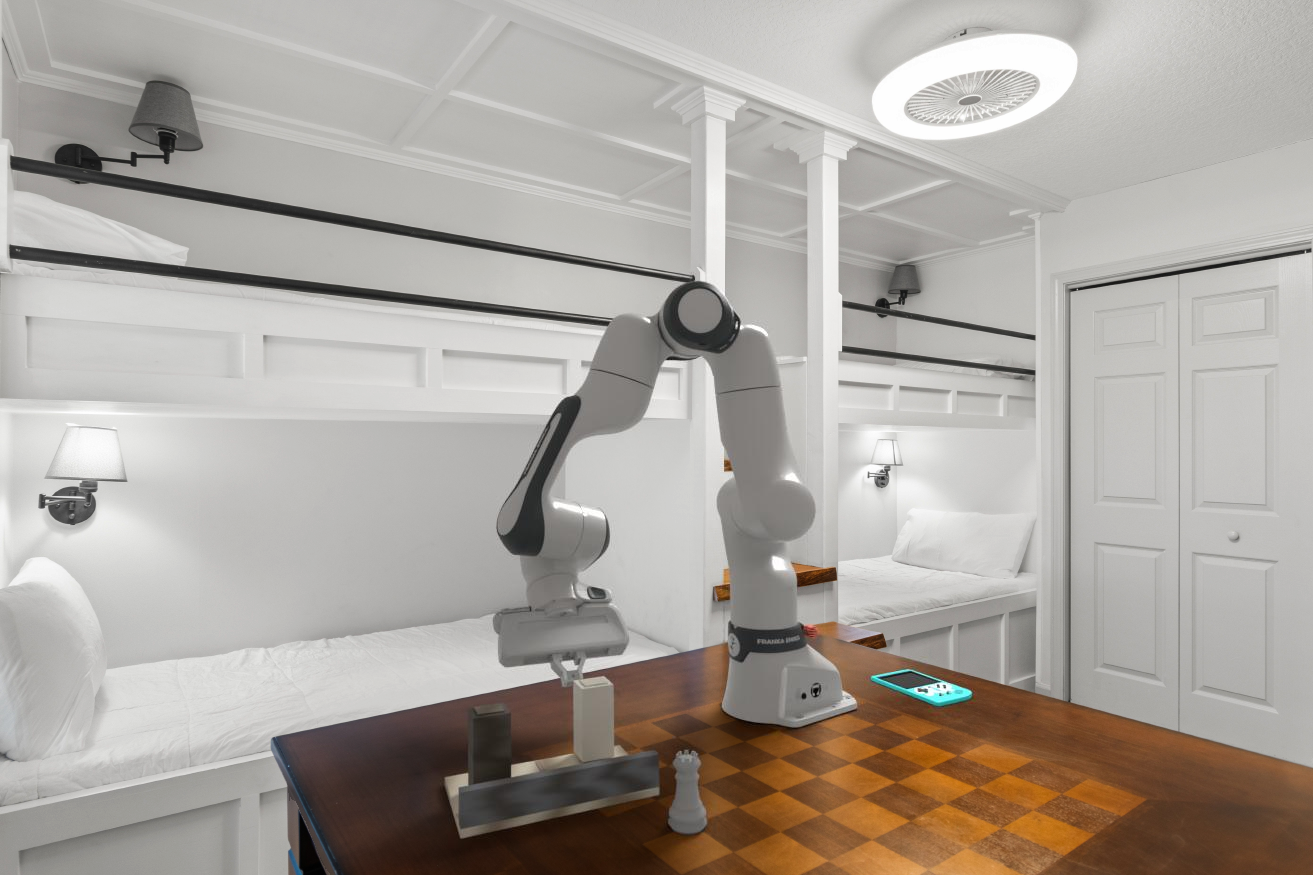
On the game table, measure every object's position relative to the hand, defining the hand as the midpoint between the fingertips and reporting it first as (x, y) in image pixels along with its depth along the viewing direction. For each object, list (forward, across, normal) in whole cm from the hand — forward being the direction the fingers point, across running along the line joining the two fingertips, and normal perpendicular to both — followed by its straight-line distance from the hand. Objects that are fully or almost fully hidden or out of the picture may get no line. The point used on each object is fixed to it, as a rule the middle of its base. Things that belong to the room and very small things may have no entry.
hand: (573, 684), depth 104 cm
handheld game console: (+8, +64, +4) cm, 64 cm away
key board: (+15, -7, -3) cm, 17 cm away
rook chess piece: (+26, +5, -14) cm, 30 cm away
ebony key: (+14, -14, -4) cm, 21 cm away
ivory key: (+11, +1, -1) cm, 11 cm away
